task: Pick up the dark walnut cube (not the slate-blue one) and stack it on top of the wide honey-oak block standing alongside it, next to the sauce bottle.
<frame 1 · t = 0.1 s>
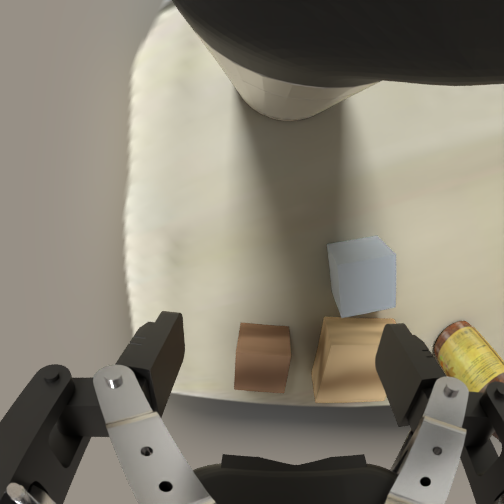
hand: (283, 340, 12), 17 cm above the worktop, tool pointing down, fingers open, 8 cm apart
walnut cube: (262, 343, 33), on the worktop
oak block: (351, 346, 32), on the worktop
slate-blue cube: (354, 263, 29), on the worktop
sauce bottle: (452, 338, 32), on the worktop
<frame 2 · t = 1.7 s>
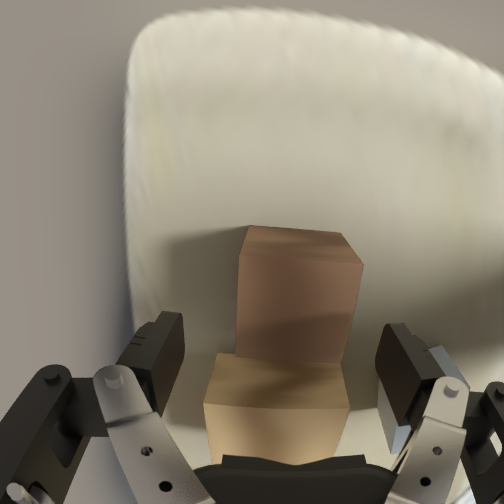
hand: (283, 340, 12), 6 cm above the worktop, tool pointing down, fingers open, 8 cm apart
walnut cube: (291, 271, 18), on the worktop
oak block: (275, 395, 21), on the worktop
slate-blue cube: (408, 377, 20), on the worktop
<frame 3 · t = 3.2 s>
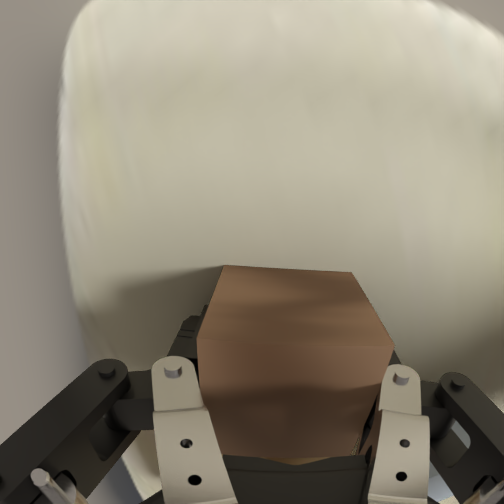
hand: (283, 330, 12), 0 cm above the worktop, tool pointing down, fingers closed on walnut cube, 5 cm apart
walnut cube: (283, 324, 13), on the worktop, touching gripper
slate-blue cube: (423, 427, 15), on the worktop
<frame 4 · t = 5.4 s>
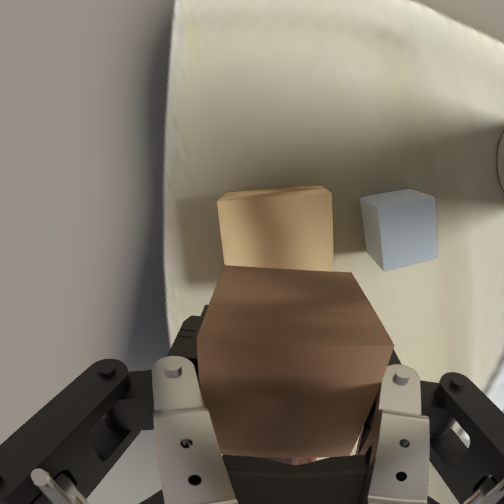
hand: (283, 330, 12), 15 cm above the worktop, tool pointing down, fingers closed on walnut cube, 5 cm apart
walnut cube: (283, 324, 13), point 15 cm above the worktop, touching gripper
oak block: (276, 233, 27), on the worktop
slate-blue cube: (388, 219, 26), on the worktop
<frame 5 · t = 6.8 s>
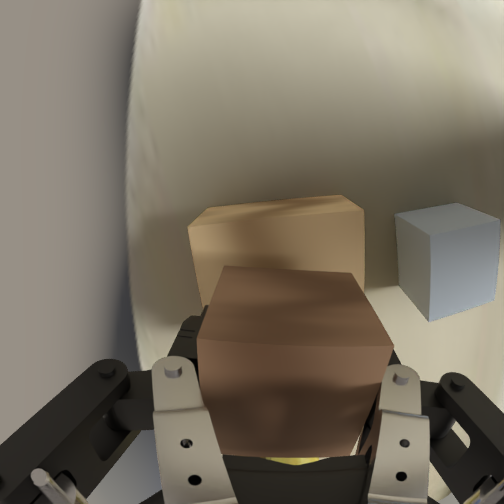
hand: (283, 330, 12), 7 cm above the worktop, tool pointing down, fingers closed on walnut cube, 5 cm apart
walnut cube: (283, 324, 13), point 7 cm above the worktop, touching gripper
oak block: (280, 262, 20), on the worktop
slate-blue cube: (428, 243, 18), on the worktop
when the fingers open (7 cm above the worktop, at t = 7.8 s): walnut cube drops 2 cm, resting on oak block.
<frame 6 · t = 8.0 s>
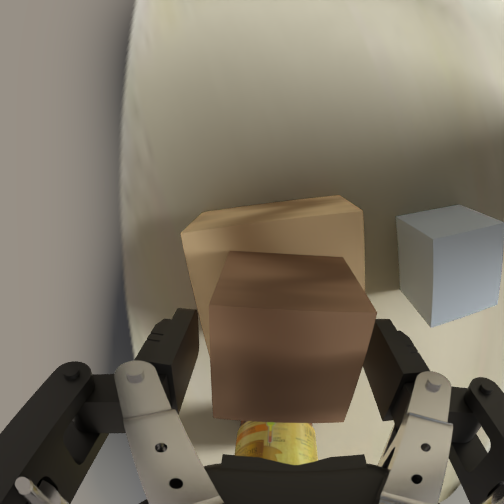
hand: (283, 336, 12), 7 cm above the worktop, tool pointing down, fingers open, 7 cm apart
walnut cube: (282, 304, 14), point 5 cm above the worktop, touching oak block
oak block: (278, 266, 19), on the worktop, touching walnut cube
slate-blue cube: (430, 246, 18), on the worktop
sauce bottle: (275, 420, 23), on the worktop
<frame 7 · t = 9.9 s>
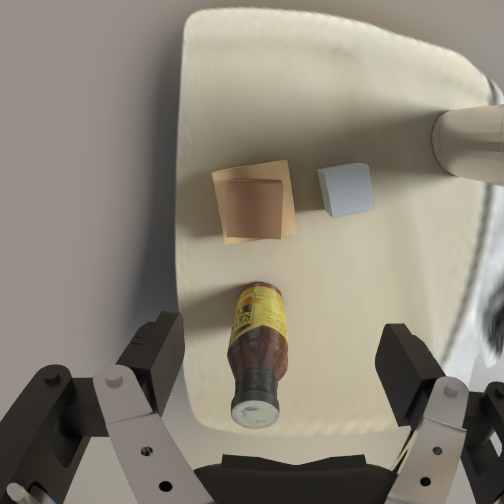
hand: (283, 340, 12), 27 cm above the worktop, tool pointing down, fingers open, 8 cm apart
walnut cube: (256, 202, 33), point 5 cm above the worktop
oak block: (256, 196, 37), on the worktop
slate-blue cube: (340, 185, 36), on the worktop
sauce bottle: (260, 301, 42), on the worktop
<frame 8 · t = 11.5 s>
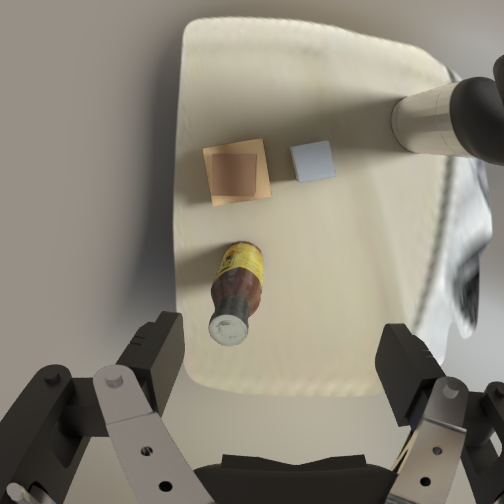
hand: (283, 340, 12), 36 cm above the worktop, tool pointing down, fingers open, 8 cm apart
walnut cube: (237, 172, 40), point 5 cm above the worktop, touching oak block
oak block: (240, 170, 45), on the worktop, touching walnut cube
slate-blue cube: (309, 160, 44), on the worktop
sauce bottle: (243, 259, 49), on the worktop
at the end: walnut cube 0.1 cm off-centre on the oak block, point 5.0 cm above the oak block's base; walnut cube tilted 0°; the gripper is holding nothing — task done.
